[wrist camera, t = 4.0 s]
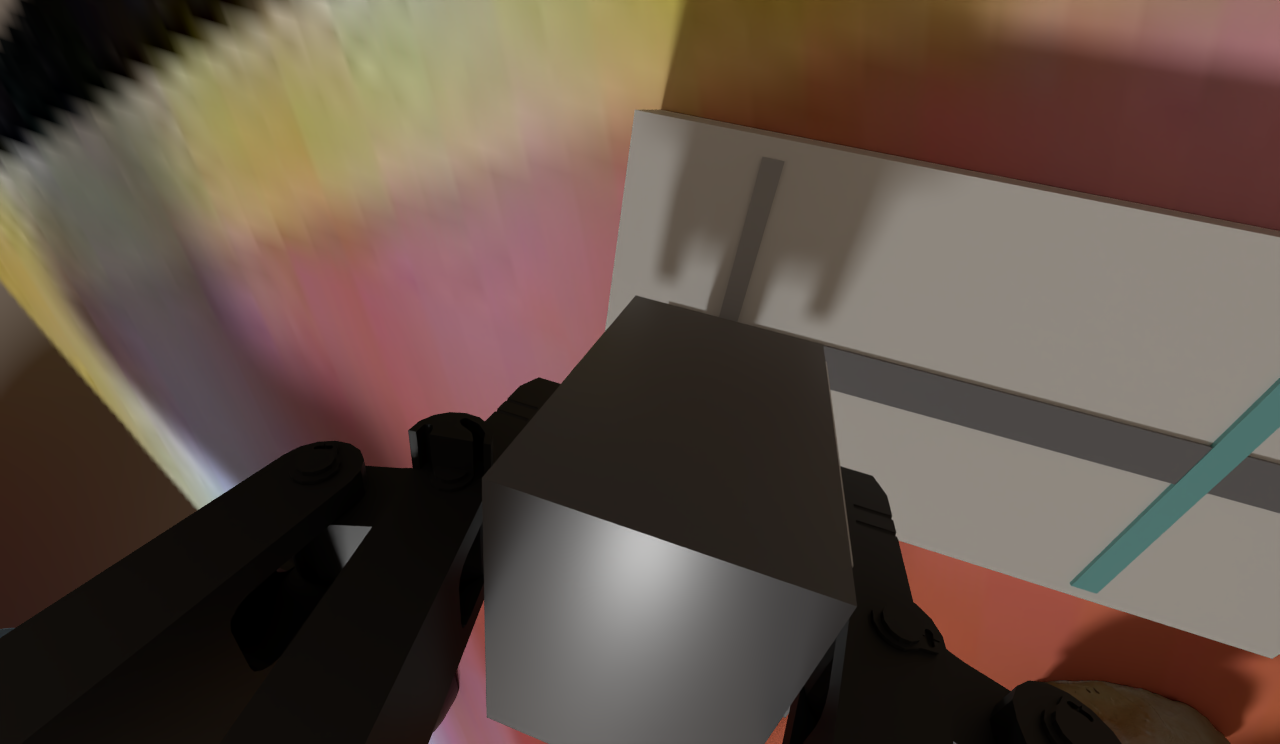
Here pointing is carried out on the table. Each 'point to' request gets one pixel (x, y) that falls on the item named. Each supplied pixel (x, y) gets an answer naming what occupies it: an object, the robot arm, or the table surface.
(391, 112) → the table surface
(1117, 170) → the table surface
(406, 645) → the robot arm
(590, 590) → the fader tab
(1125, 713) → the chocolate bunny
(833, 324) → the console
